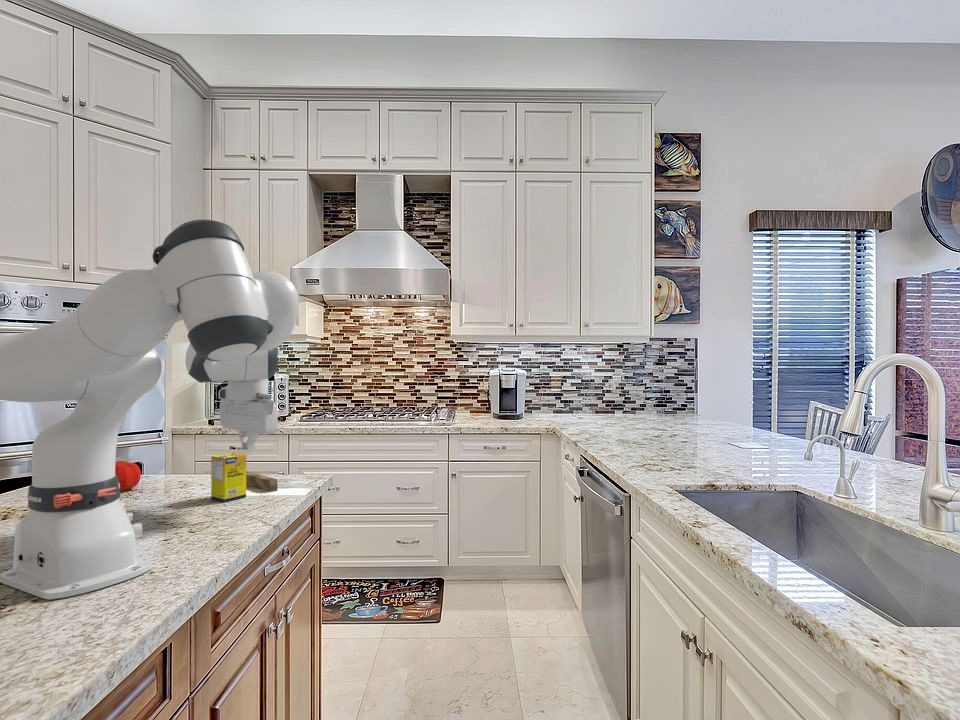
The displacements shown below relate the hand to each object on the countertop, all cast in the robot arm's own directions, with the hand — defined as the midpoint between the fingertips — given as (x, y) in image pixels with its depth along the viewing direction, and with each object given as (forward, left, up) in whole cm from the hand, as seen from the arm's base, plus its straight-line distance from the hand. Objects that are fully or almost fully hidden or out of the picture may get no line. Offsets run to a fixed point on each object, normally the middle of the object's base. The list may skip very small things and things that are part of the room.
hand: (248, 449), depth 119 cm
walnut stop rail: (+14, -10, -13) cm, 22 cm away
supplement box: (+9, 0, -14) cm, 16 cm away
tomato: (+40, +14, -14) cm, 44 cm away
